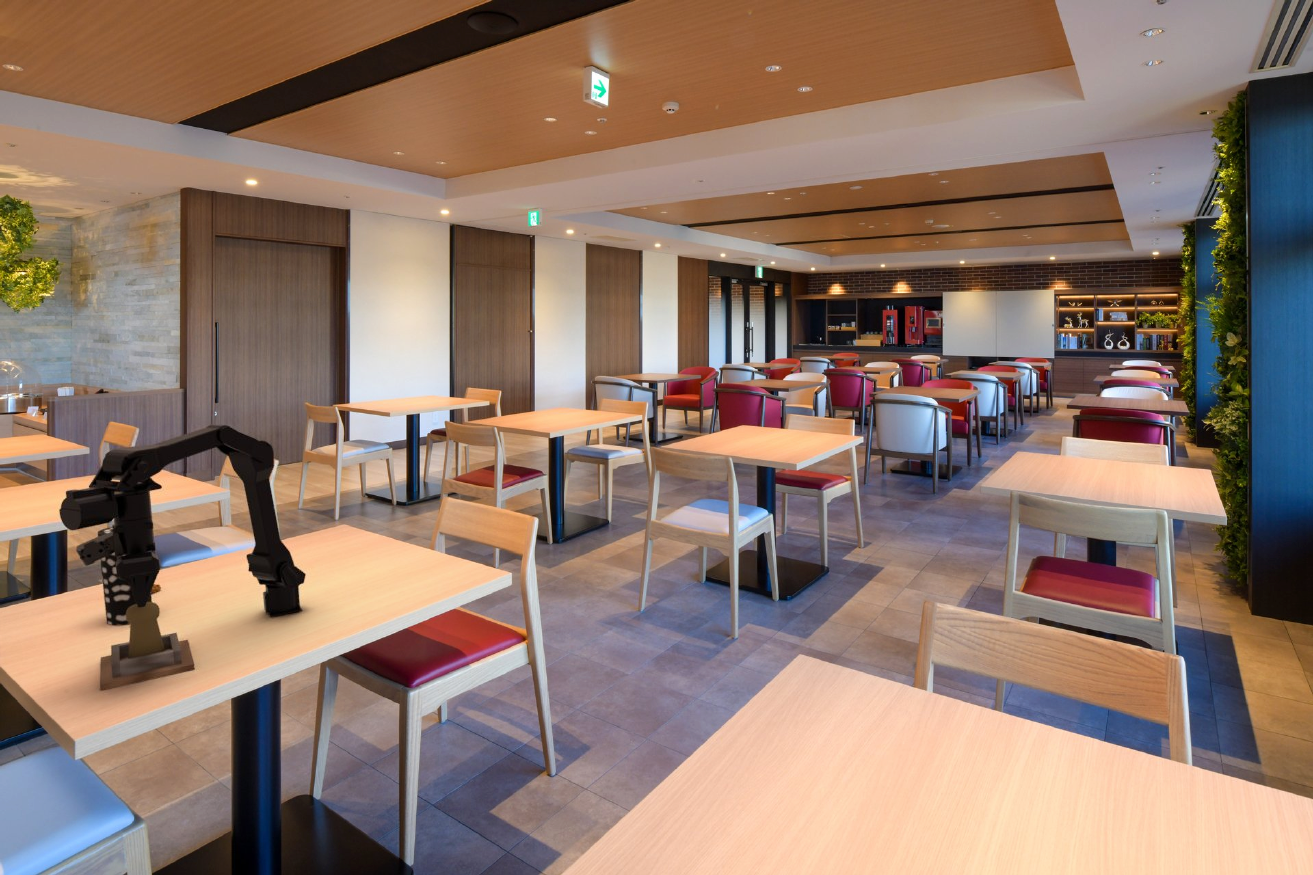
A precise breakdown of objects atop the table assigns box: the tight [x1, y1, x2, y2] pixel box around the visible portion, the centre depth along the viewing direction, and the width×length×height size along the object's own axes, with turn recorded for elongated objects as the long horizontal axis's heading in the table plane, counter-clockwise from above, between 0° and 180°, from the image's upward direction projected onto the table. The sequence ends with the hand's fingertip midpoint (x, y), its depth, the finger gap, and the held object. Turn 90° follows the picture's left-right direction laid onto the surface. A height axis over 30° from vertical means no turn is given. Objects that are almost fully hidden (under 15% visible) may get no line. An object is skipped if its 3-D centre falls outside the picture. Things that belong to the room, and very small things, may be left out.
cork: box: [126, 601, 165, 659], centre depth 138 cm, size 6×6×11 cm
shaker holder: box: [99, 632, 196, 691], centre depth 138 cm, size 14×14×4 cm
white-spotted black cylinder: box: [97, 526, 153, 626], centre depth 161 cm, size 8×8×20 cm
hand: (140, 599), depth 137 cm, fingers open, 9 cm apart
